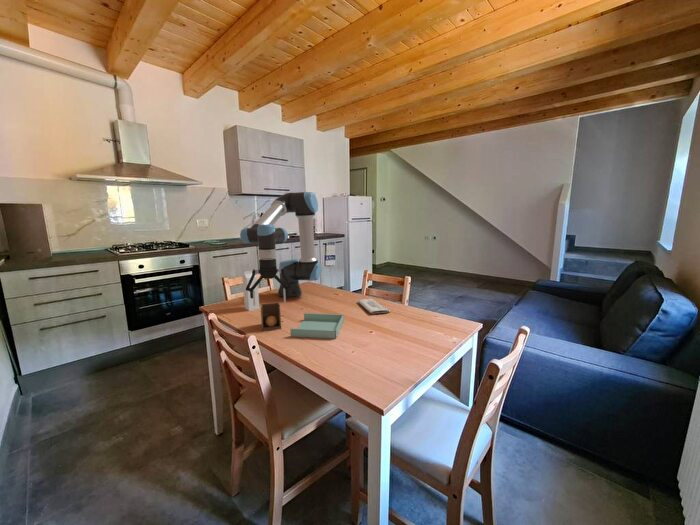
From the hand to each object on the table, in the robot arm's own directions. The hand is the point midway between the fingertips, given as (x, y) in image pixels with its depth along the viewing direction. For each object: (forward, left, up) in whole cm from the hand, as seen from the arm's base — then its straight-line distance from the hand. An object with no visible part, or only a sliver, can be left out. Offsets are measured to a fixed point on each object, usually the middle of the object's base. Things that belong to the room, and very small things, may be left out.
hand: (269, 303), depth 132 cm
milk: (-22, -21, -11) cm, 33 cm away
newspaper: (-33, +46, -12) cm, 58 cm away
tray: (0, +23, -11) cm, 26 cm away
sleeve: (0, 0, -11) cm, 11 cm away
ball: (0, 0, -9) cm, 9 cm away
